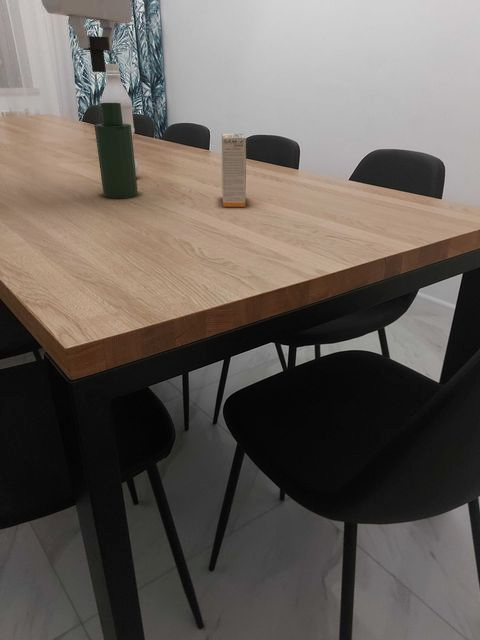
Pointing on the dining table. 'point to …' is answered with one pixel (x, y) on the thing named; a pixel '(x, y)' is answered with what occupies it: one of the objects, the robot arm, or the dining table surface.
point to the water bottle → (118, 97)
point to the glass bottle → (115, 153)
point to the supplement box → (234, 170)
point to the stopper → (98, 52)
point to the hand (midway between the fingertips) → (96, 49)
